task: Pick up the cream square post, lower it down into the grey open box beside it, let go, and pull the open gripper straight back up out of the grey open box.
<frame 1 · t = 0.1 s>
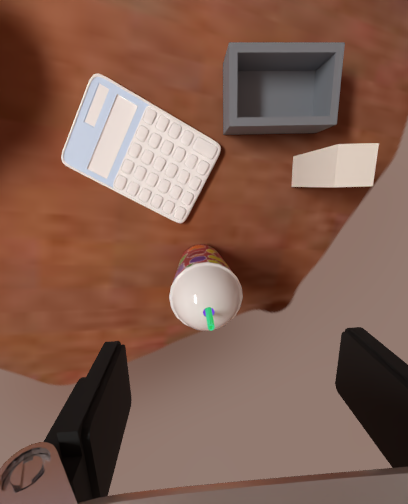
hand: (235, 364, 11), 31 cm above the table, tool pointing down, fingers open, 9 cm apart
post: (306, 171, 39), on the table
smoothie: (200, 261, 42), on the table
grey open box: (271, 100, 36), on the table
calculator: (143, 155, 38), on the table
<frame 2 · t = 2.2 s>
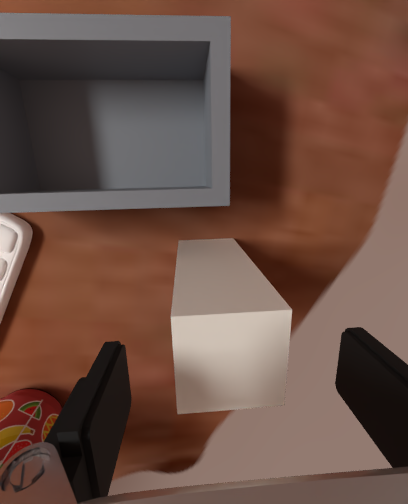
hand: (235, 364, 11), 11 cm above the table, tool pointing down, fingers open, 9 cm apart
post: (206, 265, 21), on the table
smoothie: (34, 409, 24), on the table
grey open box: (121, 138, 18), on the table
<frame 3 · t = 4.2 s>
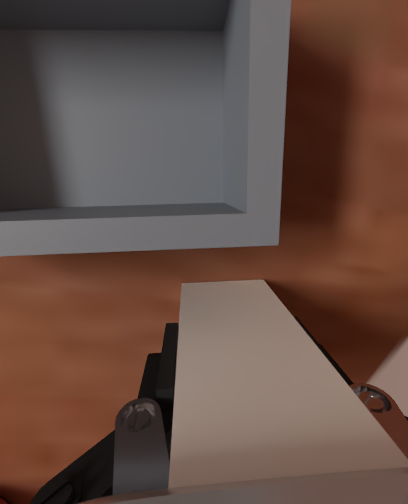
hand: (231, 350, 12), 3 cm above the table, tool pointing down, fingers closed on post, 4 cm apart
post: (223, 318, 14), on the table, touching gripper
grey open box: (91, 127, 12), on the table
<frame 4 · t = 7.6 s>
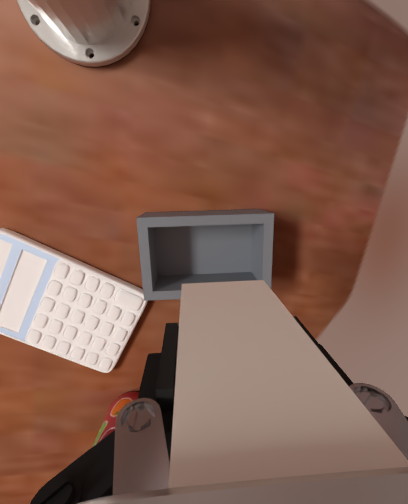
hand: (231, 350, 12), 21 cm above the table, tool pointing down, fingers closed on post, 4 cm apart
post: (223, 318, 14), point 18 cm above the table, touching gripper
smoothie: (134, 405, 38), on the table
grey open box: (204, 246, 32), on the table
calculator: (62, 301, 34), on the table
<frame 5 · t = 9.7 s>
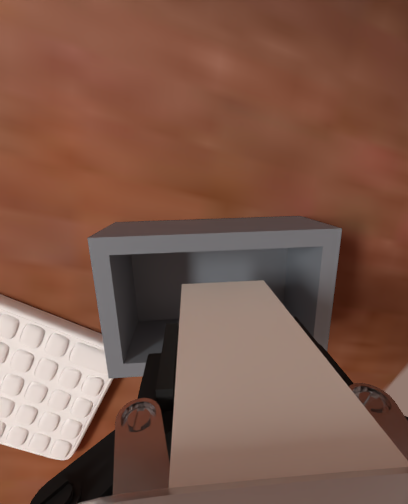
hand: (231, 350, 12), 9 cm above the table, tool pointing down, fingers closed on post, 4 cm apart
post: (223, 319, 14), point 6 cm above the table, touching gripper
grey open box: (210, 274, 20), on the table
when the fingers open (5 cm above the table, at t = 11.4 s): post drops 1 cm, resting on grey open box.
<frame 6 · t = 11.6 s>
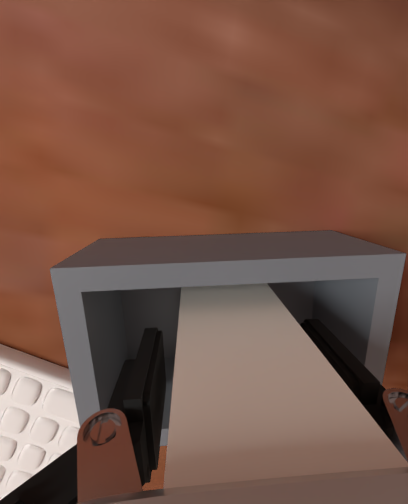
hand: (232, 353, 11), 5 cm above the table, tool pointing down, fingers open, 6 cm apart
post: (220, 306, 16), point 1 cm above the table, touching grey open box
grey open box: (219, 303, 16), on the table
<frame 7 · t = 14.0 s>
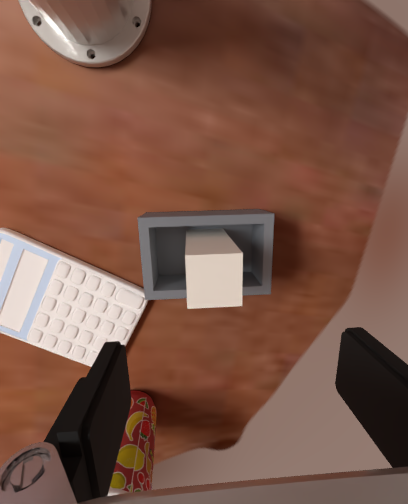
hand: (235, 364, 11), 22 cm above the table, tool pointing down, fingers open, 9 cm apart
post: (205, 246, 32), resting on grey open box
smoothie: (135, 404, 38), on the table
grey open box: (204, 246, 32), on the table
calculator: (63, 300, 34), on the table
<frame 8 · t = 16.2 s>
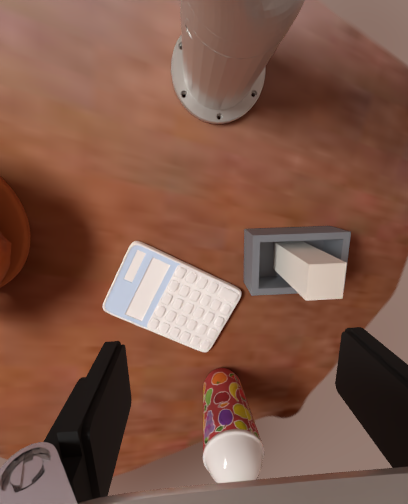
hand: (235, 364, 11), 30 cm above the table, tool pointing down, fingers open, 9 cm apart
post: (287, 254, 41), resting on grey open box
smoothie: (220, 379, 47), on the table
grey open box: (286, 254, 42), on the table
calculator: (173, 296, 43), on the table
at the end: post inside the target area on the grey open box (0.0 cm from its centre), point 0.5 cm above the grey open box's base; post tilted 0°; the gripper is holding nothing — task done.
